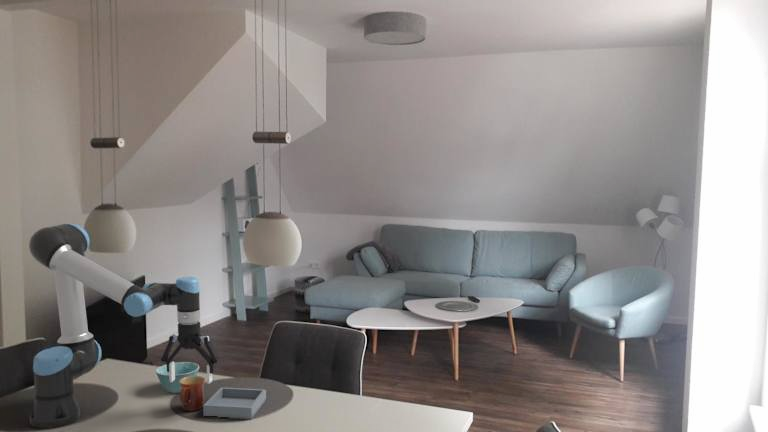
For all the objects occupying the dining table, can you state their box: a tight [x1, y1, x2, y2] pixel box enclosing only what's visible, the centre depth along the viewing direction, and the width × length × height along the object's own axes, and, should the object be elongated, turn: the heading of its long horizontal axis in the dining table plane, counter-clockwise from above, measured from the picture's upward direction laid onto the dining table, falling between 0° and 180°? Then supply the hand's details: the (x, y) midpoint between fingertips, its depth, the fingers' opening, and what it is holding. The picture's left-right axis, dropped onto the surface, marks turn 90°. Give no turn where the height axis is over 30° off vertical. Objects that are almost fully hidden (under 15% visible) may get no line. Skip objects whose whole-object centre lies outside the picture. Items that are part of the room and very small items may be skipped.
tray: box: [202, 387, 267, 420], centre depth 226 cm, size 17×17×4 cm
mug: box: [179, 375, 206, 412], centre depth 224 cm, size 12×9×10 cm
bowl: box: [155, 361, 200, 394], centre depth 244 cm, size 16×16×8 cm
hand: (191, 381), depth 223 cm, fingers open, 13 cm apart
